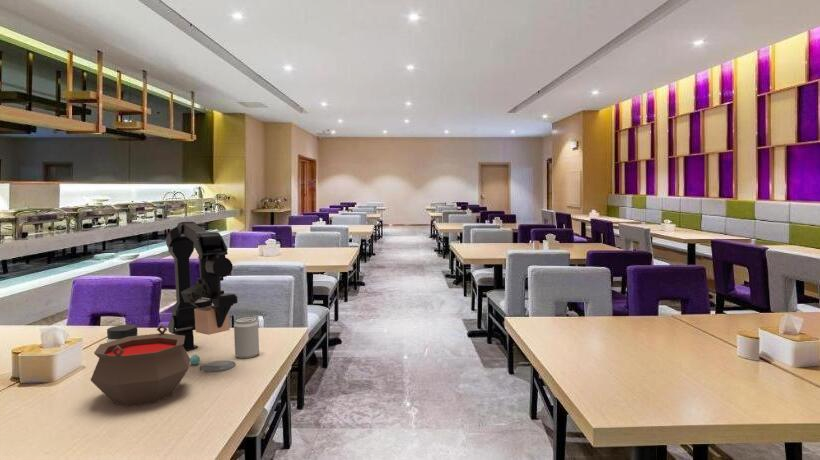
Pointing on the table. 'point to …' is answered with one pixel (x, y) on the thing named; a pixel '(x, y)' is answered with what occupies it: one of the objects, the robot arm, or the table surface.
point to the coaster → (217, 366)
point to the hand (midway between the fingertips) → (212, 326)
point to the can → (246, 337)
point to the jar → (121, 332)
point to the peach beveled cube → (209, 321)
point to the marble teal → (194, 359)
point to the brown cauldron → (141, 367)
